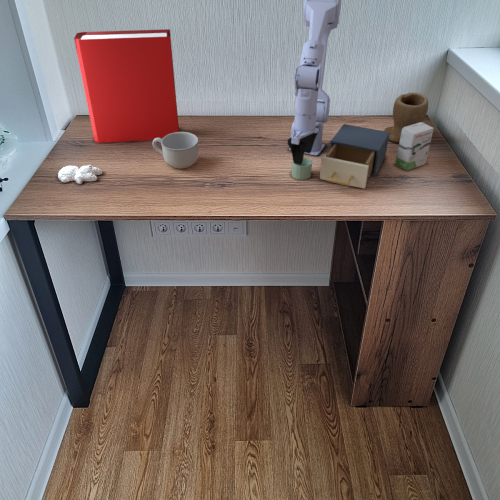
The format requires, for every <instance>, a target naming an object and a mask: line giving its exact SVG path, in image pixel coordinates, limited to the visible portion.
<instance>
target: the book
mask: <svg viewBox="0 0 500 500" xmlns="http://www.w3.org/2000/svg"><path fill="white" fill-rule="evenodd" d="M73 38H74V39H73V40H74V44H75V45H74V46H75V49H76V55H77V59H78V60H77V61H78V64H79V69H80V75H81V80H82V85H83V90H84V94H85V99H86V105H87V109H88V115H89V120H90V125H91V129H92V134H93V141H94V142H95V143H98V144H104V143H123V142H125V143H126V142H141V141H143V142H144V141H153V140H154V139H155V138H161V139H163V138H164V137H165V136H166V135H168V134H171V133H175V132H179V129H180V126H179V116H178V104H177V93H176V92H177V91H176V83H175V82H176V81H175V72H174V59H173V49H172V37H171V29H170V28H168V29H138V30H137V29H136V30H135V29H134V30H106V31H105V30H104V31H103V30H100V31H81V32H77V33H76V34H75V36H74V37H73Z"/></svg>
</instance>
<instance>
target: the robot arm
mask: <svg viewBox="0 0 500 500" xmlns="http://www.w3.org/2000/svg"><path fill="white" fill-rule="evenodd" d="M341 8H342V0H304V1H303V17H304V18H303V19H304V23H305V26H306V27H307V28H309V29H308V30H309V31H308V40H307V41H305V42H304V43H303V45H302V50H301V55H300V59H299V65H298V66H297V67H296V68H295V73H294V95H295V106H294V120H293V122H292V124H291V129H290V137H289V138H288V139H287V146H288V147H289V149H288V150H289V151H290V152H291V156H292V161H294V163H295V164H300V165H301V164H302V161H303V157H304V156H305V154H307V155H311V156H319V155H320V153H321V152H322V151H323V149H325V147H326V144H325V143H322V142H323V133H324V132H323V131H324V130H323V129H324V124H326V123H327V122H328V121H329V118H330V117H329V116H330V108H331V104H330V103H331V98H330V95H329V94H328V93H327V92H326V91H325V90H323V85H324V75H325V67H326V60H327V59H326V58H327V50H328V41H329V36H330V34H331V32H332V30H335V29H337V28H338V25H339V22H340V15H341ZM304 158H305V157H304Z"/></svg>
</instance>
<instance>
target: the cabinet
mask: <svg viewBox="0 0 500 500" xmlns="http://www.w3.org/2000/svg"><path fill="white" fill-rule="evenodd" d="M389 133H390V132H386V131H384V130H380V129H375V128H368V127H363V126H359V125H352V124H346V123H343V124H342V125H341V127H340V128H339V129H338V131H337V132H336V133H335V135H334V136H333V137H332V139H331V140H330V143H329V150H330V149H331V148H332V147H333V145H334V144H340V145H345V146H350V147H355V148H361V149H366V150H371V151H376V158H375V164H374V169H373V171H372V172H371V174H370V176H374V177H375V176H376V175H377V173H378V171H379V169H380V167H381V166H382V164H383V162H384V160H385V158H386V155H387V150H388V149H387V148H388V145H389Z"/></svg>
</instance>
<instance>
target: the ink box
mask: <svg viewBox="0 0 500 500" xmlns="http://www.w3.org/2000/svg"><path fill="white" fill-rule="evenodd" d="M434 129H435V128H434V127H433V126H431V125H428V124H426V123H425V122H420V123H416V124H413V125H410V126H406V127H404V128H402V132H401V137H400V142H398V148H397V153H396V157H395V163H394V165H395V166H396V167H398V168H400V169H402V170H404V171H406V172H407V171H410V170H413V169H415V168H419V167H421V166H424V165H426V162H427V159H428V155H429V150H430V146H431V141H432V137H433V133H434Z"/></svg>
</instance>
